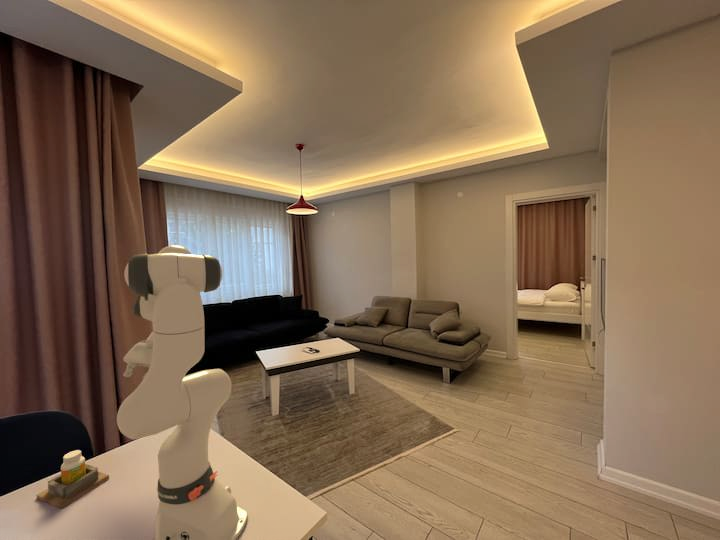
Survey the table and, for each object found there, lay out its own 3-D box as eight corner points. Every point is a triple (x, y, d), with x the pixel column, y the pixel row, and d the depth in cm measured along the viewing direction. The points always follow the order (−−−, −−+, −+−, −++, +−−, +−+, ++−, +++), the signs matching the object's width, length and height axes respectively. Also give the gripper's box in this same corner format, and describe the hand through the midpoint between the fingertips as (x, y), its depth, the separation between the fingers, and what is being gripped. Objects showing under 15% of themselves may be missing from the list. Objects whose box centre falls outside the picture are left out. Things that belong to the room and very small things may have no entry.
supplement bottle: (71, 492, 89) (68, 461, 88) (57, 490, 90) (54, 458, 90) (91, 479, 94) (88, 449, 94) (77, 476, 95) (75, 447, 95)
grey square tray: (109, 478, 96) (108, 466, 96) (61, 508, 84) (60, 495, 84) (85, 470, 100) (84, 458, 99) (36, 498, 88) (35, 485, 88)
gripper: (134, 335, 113) (107, 370, 104) (175, 339, 106) (149, 377, 97) (147, 344, 117) (122, 378, 108) (186, 347, 110) (163, 384, 102)
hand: (135, 377), depth 103 cm, fingers open, 8 cm apart
